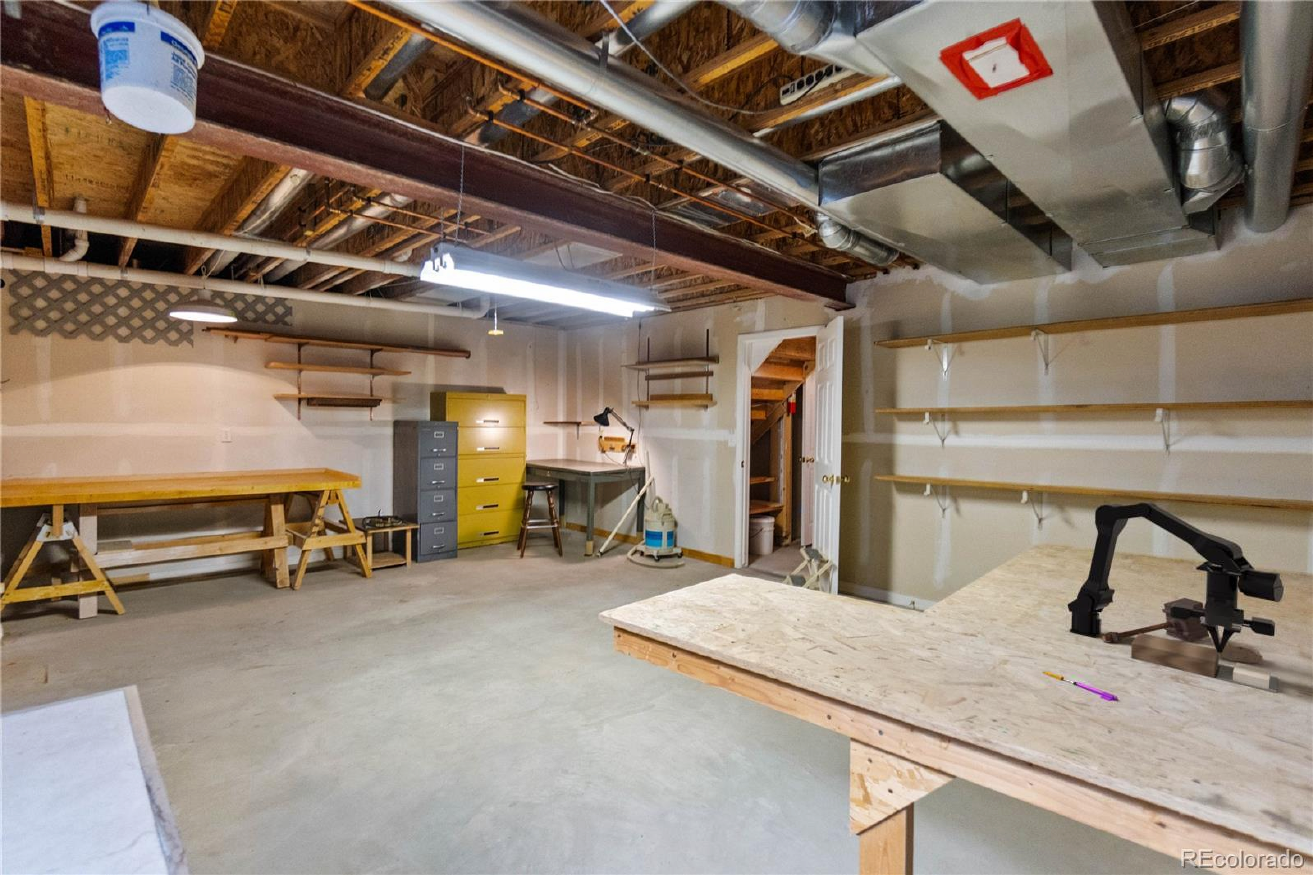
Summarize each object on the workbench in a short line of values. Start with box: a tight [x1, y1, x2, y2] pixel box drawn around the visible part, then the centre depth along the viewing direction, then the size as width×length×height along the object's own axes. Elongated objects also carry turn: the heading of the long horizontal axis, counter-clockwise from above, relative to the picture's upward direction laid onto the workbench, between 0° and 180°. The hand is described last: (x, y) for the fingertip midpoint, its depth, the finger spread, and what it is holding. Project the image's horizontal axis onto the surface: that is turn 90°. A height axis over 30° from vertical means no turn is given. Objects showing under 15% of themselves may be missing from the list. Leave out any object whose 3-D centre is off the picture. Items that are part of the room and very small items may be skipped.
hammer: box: [1101, 597, 1210, 643], centre depth 169 cm, size 7×33×10 cm, turn 100°
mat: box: [1216, 664, 1278, 694], centre depth 143 cm, size 10×12×1 cm
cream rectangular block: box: [1233, 662, 1272, 689], centre depth 142 cm, size 6×9×2 cm, turn 131°
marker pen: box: [1042, 670, 1119, 702], centre depth 137 cm, size 3×1×16 cm
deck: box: [1130, 633, 1220, 679], centre depth 153 cm, size 16×12×4 cm
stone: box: [1210, 635, 1263, 664], centre depth 157 cm, size 9×11×5 cm
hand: (1219, 652), depth 147 cm, fingers closed
